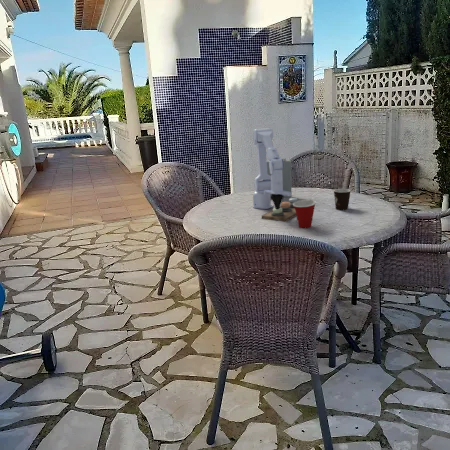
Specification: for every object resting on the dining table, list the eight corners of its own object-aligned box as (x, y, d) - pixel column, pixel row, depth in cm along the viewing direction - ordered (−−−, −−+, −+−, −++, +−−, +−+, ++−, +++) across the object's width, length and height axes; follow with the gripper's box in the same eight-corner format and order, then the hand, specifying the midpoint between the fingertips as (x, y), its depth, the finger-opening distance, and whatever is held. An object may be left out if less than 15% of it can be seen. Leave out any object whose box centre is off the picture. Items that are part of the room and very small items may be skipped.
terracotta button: (279, 207, 225) (279, 203, 224) (283, 204, 228) (283, 201, 228) (287, 207, 222) (287, 204, 221) (291, 205, 226) (291, 202, 225)
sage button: (271, 213, 218) (271, 209, 217) (275, 210, 222) (275, 207, 221) (279, 214, 215) (279, 210, 215) (283, 211, 219) (283, 208, 218)
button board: (261, 218, 220) (261, 213, 219) (285, 206, 241) (285, 201, 240) (285, 221, 212) (285, 216, 211) (308, 208, 233) (308, 204, 232)
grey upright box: (291, 195, 264) (290, 155, 257) (291, 197, 260) (290, 156, 253) (263, 196, 267) (262, 156, 260) (263, 198, 263) (261, 157, 256)
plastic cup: (290, 224, 206) (290, 200, 203) (312, 222, 207) (312, 198, 204) (295, 231, 196) (295, 205, 193) (318, 229, 197) (318, 204, 193)
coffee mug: (350, 210, 223) (351, 192, 220) (333, 210, 225) (334, 192, 222) (349, 205, 234) (349, 187, 231) (333, 205, 236) (333, 187, 233)
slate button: (287, 203, 232) (287, 199, 231) (291, 201, 235) (291, 197, 235) (295, 203, 229) (295, 200, 228) (299, 201, 233) (298, 198, 232)
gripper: (260, 183, 215) (261, 209, 219) (286, 185, 207) (286, 211, 211) (267, 180, 220) (268, 205, 224) (292, 182, 212) (293, 208, 216)
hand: (277, 208), depth 218 cm, fingers closed
